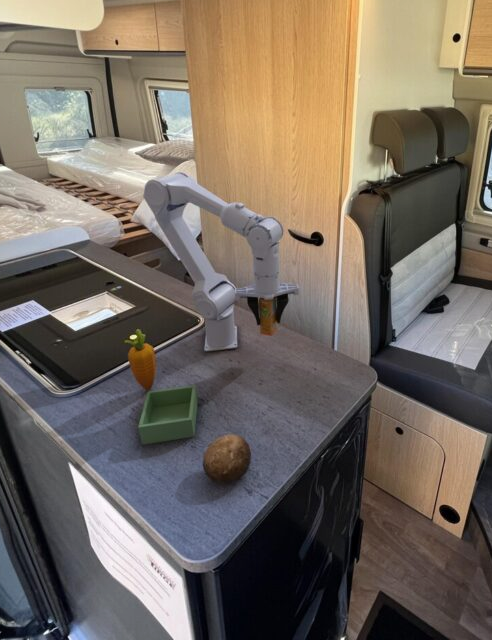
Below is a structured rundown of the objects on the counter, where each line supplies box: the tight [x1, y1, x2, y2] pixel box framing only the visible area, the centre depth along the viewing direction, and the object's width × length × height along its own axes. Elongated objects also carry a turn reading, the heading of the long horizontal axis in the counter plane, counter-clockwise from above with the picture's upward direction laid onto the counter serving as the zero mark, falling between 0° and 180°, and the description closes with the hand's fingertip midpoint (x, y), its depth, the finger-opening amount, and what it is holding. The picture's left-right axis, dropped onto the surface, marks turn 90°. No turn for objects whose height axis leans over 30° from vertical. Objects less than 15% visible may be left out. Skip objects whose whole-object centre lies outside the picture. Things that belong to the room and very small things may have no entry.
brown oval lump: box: [202, 433, 252, 484], centre depth 68 cm, size 8×8×6 cm
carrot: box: [124, 328, 157, 391], centre depth 81 cm, size 5×5×15 cm
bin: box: [137, 384, 199, 446], centre depth 76 cm, size 9×9×4 cm
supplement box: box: [258, 296, 278, 337], centre depth 92 cm, size 3×3×10 cm
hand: (268, 321), depth 93 cm, fingers closed on supplement box, 4 cm apart
